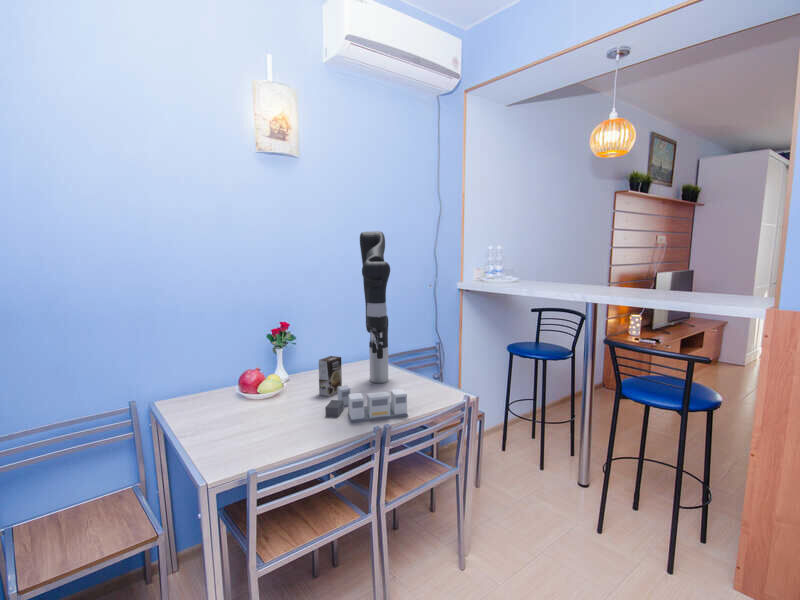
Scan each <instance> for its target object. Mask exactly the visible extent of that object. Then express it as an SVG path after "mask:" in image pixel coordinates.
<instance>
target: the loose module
mask: <svg viewBox="0 0 800 600" xmlns="http://www.w3.org/2000/svg"><path fill="white" fill-rule="evenodd" d="M390 402H391V394H389V392H387V391H380V392H369V393H367V394H366V405H367V414H368V416H369V418H375V417H384V416H390Z"/></svg>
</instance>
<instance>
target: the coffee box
mask: <svg viewBox="0 0 800 600" xmlns="http://www.w3.org/2000/svg"><path fill="white" fill-rule="evenodd" d="M342 374H343V373H342V357H341V356H335V355H334V356H333V355H330V356H327V357H324V358H321V359H318V389H319V390H318V394H319V395H321V396H325V397H333V396H334V395H336V394H338V387H339V386H343V379H342V378H343V376H342Z"/></svg>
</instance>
